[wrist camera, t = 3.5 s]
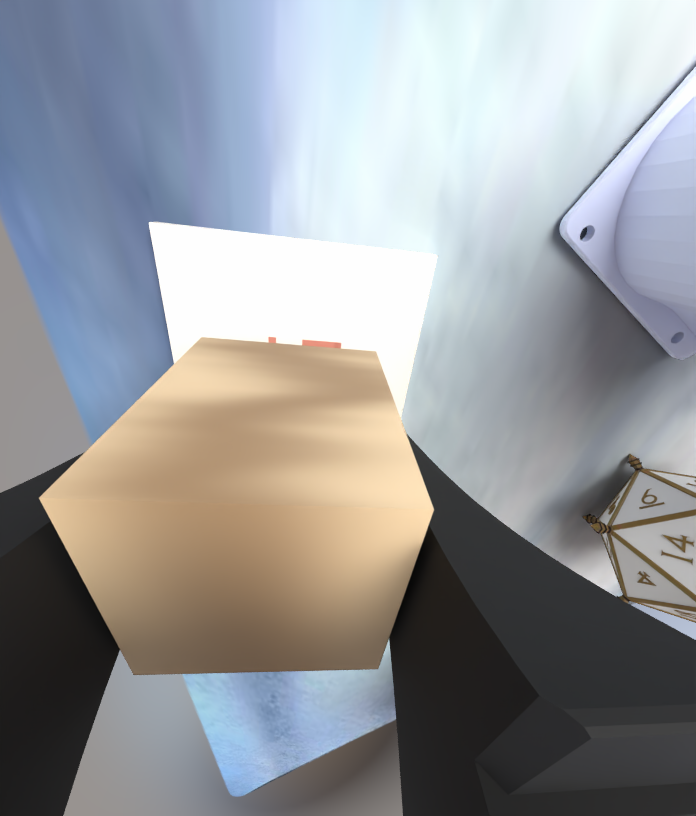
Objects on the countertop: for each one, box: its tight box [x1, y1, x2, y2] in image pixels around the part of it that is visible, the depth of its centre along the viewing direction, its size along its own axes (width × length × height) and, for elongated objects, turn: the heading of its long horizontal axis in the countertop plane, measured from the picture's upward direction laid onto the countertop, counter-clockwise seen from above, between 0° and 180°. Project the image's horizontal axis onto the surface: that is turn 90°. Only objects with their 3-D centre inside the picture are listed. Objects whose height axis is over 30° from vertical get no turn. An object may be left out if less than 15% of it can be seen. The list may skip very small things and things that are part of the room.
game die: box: [583, 454, 696, 623], centre depth 16 cm, size 9×8×10 cm
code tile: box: [149, 222, 438, 418], centre depth 14 cm, size 10×10×1 cm
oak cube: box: [39, 337, 434, 675], centre depth 8 cm, size 5×5×6 cm
